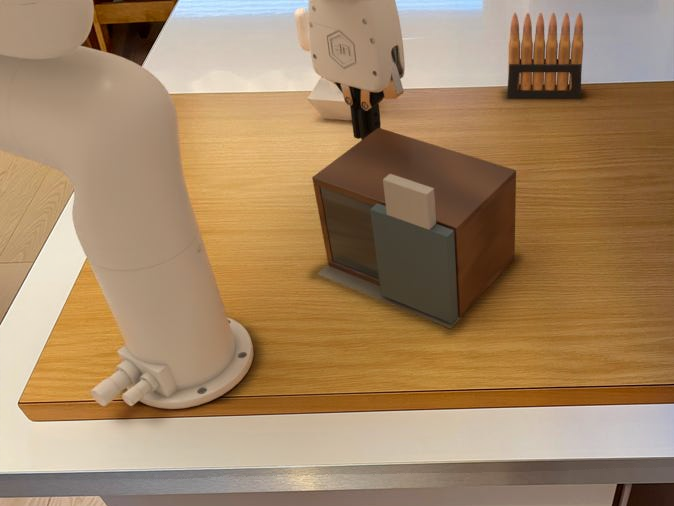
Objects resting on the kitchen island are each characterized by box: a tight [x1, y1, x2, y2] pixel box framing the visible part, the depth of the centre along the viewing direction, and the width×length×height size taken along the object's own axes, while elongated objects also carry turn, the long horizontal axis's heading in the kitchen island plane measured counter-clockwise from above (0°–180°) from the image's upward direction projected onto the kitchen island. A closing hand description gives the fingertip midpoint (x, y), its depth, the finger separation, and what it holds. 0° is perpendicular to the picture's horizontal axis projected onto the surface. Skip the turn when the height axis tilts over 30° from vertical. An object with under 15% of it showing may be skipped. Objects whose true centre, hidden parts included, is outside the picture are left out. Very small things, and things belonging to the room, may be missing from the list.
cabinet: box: [311, 127, 517, 330], centre depth 88 cm, size 14×18×12 cm
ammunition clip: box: [506, 12, 584, 100], centre depth 116 cm, size 11×2×12 cm, turn 88°
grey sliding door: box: [370, 174, 458, 324], centre depth 81 cm, size 1×9×15 cm, turn 59°
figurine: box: [294, 7, 352, 121], centre depth 112 cm, size 7×9×15 cm
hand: (367, 134), depth 98 cm, fingers closed
